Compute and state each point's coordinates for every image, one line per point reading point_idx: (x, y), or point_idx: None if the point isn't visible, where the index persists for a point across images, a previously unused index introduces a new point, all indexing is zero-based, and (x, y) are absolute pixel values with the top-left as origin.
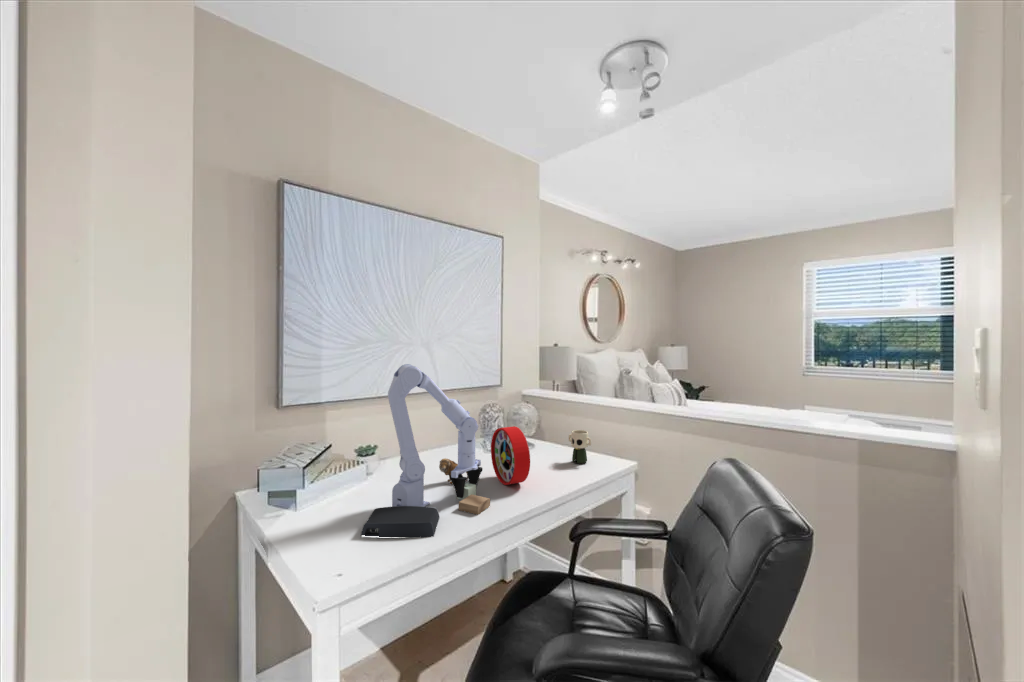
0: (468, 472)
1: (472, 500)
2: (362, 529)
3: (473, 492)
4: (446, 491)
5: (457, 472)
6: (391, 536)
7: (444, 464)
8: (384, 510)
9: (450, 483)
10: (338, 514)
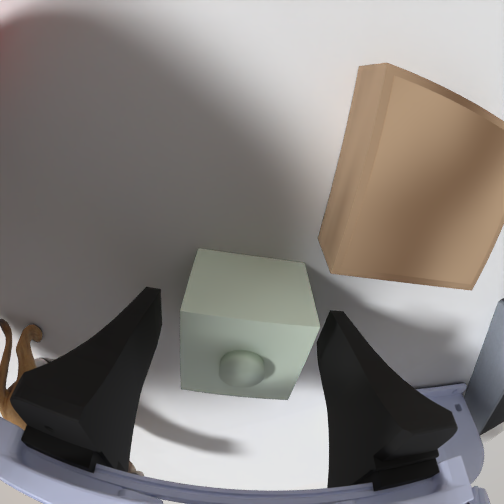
0: (128, 438)
1: (454, 213)
2: None
3: (231, 278)
4: (208, 397)
5: (462, 497)
6: None
7: None
8: (500, 419)
9: None
10: None
